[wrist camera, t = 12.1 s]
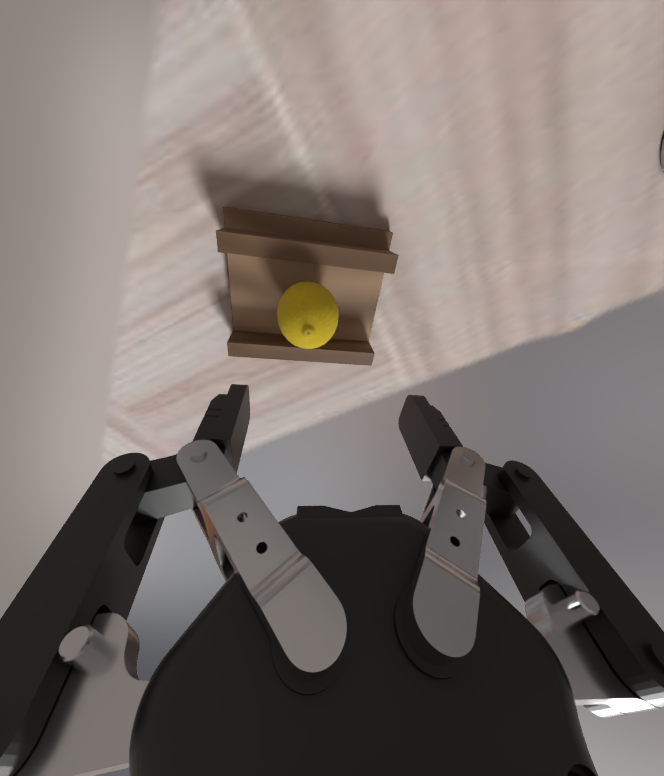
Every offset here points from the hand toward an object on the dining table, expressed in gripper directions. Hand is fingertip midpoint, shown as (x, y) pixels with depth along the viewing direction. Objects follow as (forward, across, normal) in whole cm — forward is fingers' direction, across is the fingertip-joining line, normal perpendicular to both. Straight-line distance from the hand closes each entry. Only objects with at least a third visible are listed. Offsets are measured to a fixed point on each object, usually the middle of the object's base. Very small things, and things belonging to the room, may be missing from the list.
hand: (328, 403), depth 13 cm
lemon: (+17, +1, 0) cm, 17 cm away
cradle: (+18, +1, 0) cm, 18 cm away
